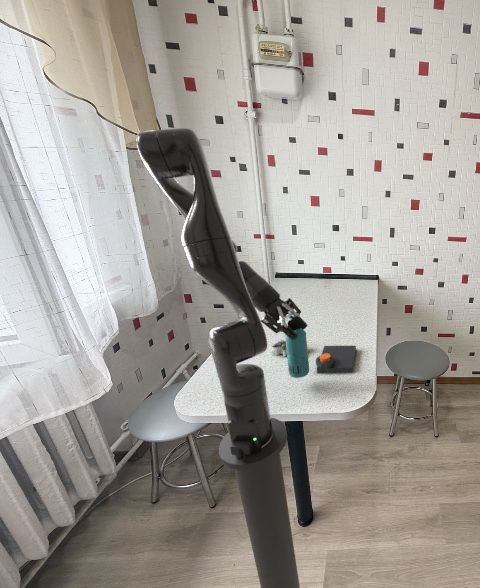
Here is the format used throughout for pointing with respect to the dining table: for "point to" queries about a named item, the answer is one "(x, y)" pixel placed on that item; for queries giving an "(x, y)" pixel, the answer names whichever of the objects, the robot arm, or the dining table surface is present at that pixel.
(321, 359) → the button
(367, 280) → the dining table surface
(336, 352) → the scale
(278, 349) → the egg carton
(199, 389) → the dining table surface
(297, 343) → the beverage bottle
